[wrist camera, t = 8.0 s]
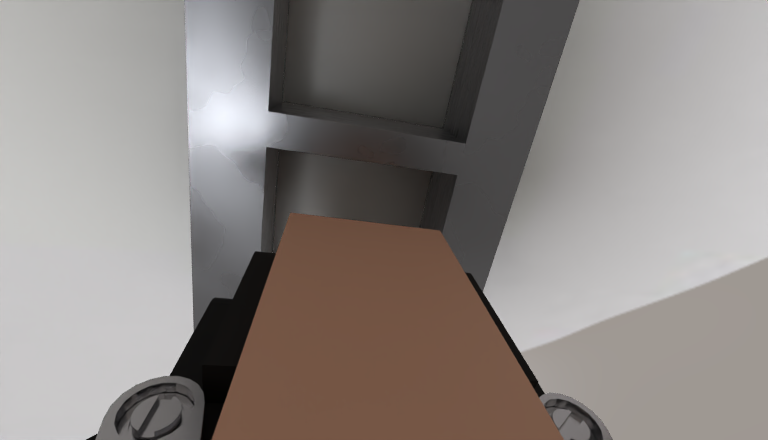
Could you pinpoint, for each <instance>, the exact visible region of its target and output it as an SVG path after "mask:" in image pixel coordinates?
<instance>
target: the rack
mask: <svg viewBox="0 0 768 440" xmlns="http://www.w3.org/2000/svg"><path fill="white" fill-rule="evenodd" d="M184 2H185V37H186V72H187V108H188V143H189V178H190V214H191V249H192V284H193V320H194V331H195V329H196V327H197V325H198V323H199V322H200V320H201V318H202V316H203V314H204V313H205V311H206V309H207V307H208V305H209V304H210V302H211V300H212V299H213V298H215V297H216V298H229V299H233V297H234V295H235V293H236V291H237V289H238V286H239V284H240V282H241V280H242V278H243V276H244V273H245V271H246V269H247V267H248V265H249V263H250V260H251V258H252V256H253V254H254V252H255V251H259V252H269V253H272V249H273V234H274V219H275V205H276V190H277V175H278V160H279V149H283V150H290V151H297V152H304V153H311V154H317V155H324V156H331V157H338V158H345V159H351V160H358V161H365V162H372V163H379V164H385V165H392V166H399V167H406V168H413V169H419V170H426V171H433V172H432V176H431V181H430V185H429V189H428V193H427V198H426V202H425V206H424V211H423V215H422V219H421V223H420V228H423V229H432V230H440V231H441V233H442V235H443V236H444V238H445V240H446V241H447V243H448V245H449V247H450V248H451V250H452V252H453V253H454V255H455V257H456V258H457V260H458V262H459V263H460V265H461V267H462V268H463V270H464V272H466V273H471V274H472V276H473V277H474V279H475V280H476V282H477V284H478V285H479V287H480V289H481V290H482V292H483V289H484V286H485V283H486V280H487V277H488V274H489V271H490V268H491V265H492V262H493V259H494V256H495V253H496V250H497V247H498V244H499V241H500V238H501V235H502V232H503V229H504V226H505V223H506V220H507V217H508V214H509V211H510V208H511V205H512V202H513V199H514V196H515V193H516V190H517V187H518V184H519V181H520V178H521V175H522V172H523V169H524V166H525V163H526V160H527V157H528V154H529V151H530V148H531V145H532V142H533V139H534V136H535V133H536V130H537V127H538V124H539V121H540V118H541V115H542V112H543V109H544V106H545V103H546V100H547V97H548V94H549V91H550V88H551V85H552V82H553V79H554V76H555V73H556V70H557V67H558V64H559V61H560V58H561V55H562V52H563V49H564V46H565V43H566V40H567V37H568V34H569V31H570V28H571V24H572V21H573V18H574V15H575V12H576V9H577V6H578V3H579V0H473V2H472V6H471V10H470V15H469V19H468V23H467V27H466V32H465V36H464V40H463V44H462V49H461V53H460V57H459V61H458V66H457V70H456V74H455V78H454V83H453V87H452V91H451V96H450V100H449V104H448V108H447V113H446V117H445V121H444V125H443V128H437V127H431V126H425V125H419V124H413V123H407V122H401V121H395V120H389V119H383V118H377V117H372V116H366V115H360V114H354V113H348V112H342V111H336V110H330V109H324V108H318V107H312V106H306V105H300V104H295V103H289V102H283V86H284V71H285V56H286V41H287V26H288V11H289V0H184Z"/></svg>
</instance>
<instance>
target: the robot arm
mask: <svg viewBox="0 0 768 440" xmlns="http://www.w3.org/2000/svg"><path fill="white" fill-rule="evenodd" d="M275 255H276V253H269V252H259V251H255V252H254V254H253V256H252V258H251V260H250V263H249V265H248V267H247V269H246V271H245V273H244V276H243V278H242V280H241V282H240V284H239V286H238V289H237V291H236V293H235V295H234V297H233V299H229V298H216V297H215V298H213V299H212V300H211V302H210V304H209V305H208V307H207V309H206V311H205V313H204V314H203V316H202V318H201V320H200V322H199V323H198V325H197V327H196V329H195V331H194V333H193V334H192V336H191V338H190V340H189V342H188V343H187V345H186V347H185V349H184V351H183V352H182V354H181V356H180V358H179V360H178V362H177V363H176V365H175V367H174V369H173V371H172V372H171V374H170V376H163V377H158V378H154V379H150V380H147V381H145V382H142V383H140V384H138V385H135V386H134V387H132V388H131V389H129V390H128V391H126V392H125V393H123V394H122V395H121V396H120V397H119V398H118V399H117V400H116V401H115V402H114V403H113V404H112V405H111V406H110V408H109V409H108V411H107V413H106V415H105V416H104V418H103V421H102V424H101V426H100V429H99V431H98V434H96V435H94V436H92V437H90V438H88V439H86V440H212V437H213V434H214V432H215V429H216V426H217V423H218V420H219V417H220V414H221V411H222V408H223V406H224V403H225V400H226V397H227V394H228V391H229V388H230V385H231V382H232V380H233V377H234V374H235V371H236V368H237V365H238V362H239V359H240V356H241V353H242V351H243V348H244V345H245V342H246V339H247V336H248V333H249V330H250V327H251V325H252V322H253V319H254V316H255V313H256V310H257V307H258V304H259V301H260V299H261V296H262V293H263V290H264V287H265V284H266V281H267V278H268V275H269V273H270V270H271V267H272V264H273V261H274V258H275ZM465 274H466V275H467V277H468V279H469V280H470V282H471V284H472V285H473V287H474V289H475V290H476V292H477V294H478V295H479V297H480V299H481V301H482V302H483V304H484V306H485V307H486V309H487V311H488V312H489V314H490V316H491V317H492V319H493V321H494V322H495V324H496V326H497V328H498V329H499V331H500V333H501V334H502V336H503V338H504V339H505V341H506V343H507V344H508V346H509V348H510V349H511V351H512V353H513V355H514V356H515V358H516V360H517V361H518V363H519V365H520V366H521V368H522V370H523V371H524V373H525V375H526V376H527V378H528V380H529V382H530V383H531V385H532V387H533V388H534V390H535V392H536V393H537V395H538V397H539V398H540V400H541V402H542V403H543V405H544V407H545V409H546V410H547V412H548V414H549V415H550V417H551V419H552V420H553V422H554V424H555V425H556V427H557V429H558V430H559V432H560V434H561V436H562V437H563V439H564V440H613V439H612V437H611V435H610V433H609V431H608V430H607V428H606V427H605V425H604V423H603V422H602V421H601V419H600V418H599V417H598V416H597V415H596V414H595V413H594V412H593V411H592V410H590V409H589V408H588V407H586V406H585V405H584V404H582V403H581V402H579V401H577V400H575V399H573V398H571V397H569V396H566V395H563V394H558V393H547V394H545V393H544V392H543V390H542V389H541V387H540V385H539V384H538V381H537V379H536V378H535V376H534V374H533V372H532V371H531V369H530V368H529V366H528V364H527V363H526V361H525V360H524V358H523V356H522V355H521V353H520V351H519V350H518V348H517V347H516V345H515V343H514V342H513V340H512V339H511V337H510V335H509V334H508V332H507V331H506V329H505V327H504V326H503V324H502V322H501V321H500V319H499V318H498V316H497V314H496V313H495V311H494V310H493V308H492V306H491V305H490V303H489V301H488V300H487V298H486V297H485V295H484V293H483V292H482V290H481V289H480V287H479V285H478V284H477V282H476V280H475V279H474V277H473V276H472V274H471V273H466V272H465Z"/></svg>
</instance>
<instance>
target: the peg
mask: <svg viewBox="0 0 768 440" xmlns="http://www.w3.org/2000/svg"><path fill="white" fill-rule="evenodd" d="M212 440H564V439H563V437H562V436H561V434H560V432H559V430H558V429H557V427H556V425H555V424H554V422H553V420H552V419H551V417H550V415H549V414H548V412H547V410H546V409H545V407H544V405H543V403H542V402H541V400H540V398H539V397H538V395H537V393H536V392H535V390H534V388H533V387H532V385H531V383H530V382H529V380H528V378H527V376H526V375H525V373H524V371H523V370H522V368H521V366H520V365H519V363H518V361H517V360H516V358H515V356H514V355H513V353H512V351H511V349H510V348H509V346H508V344H507V343H506V341H505V339H504V338H503V336H502V334H501V333H500V331H499V329H498V328H497V326H496V324H495V322H494V321H493V319H492V317H491V316H490V314H489V312H488V311H487V309H486V307H485V306H484V304H483V302H482V301H481V299H480V297H479V295H478V294H477V292H476V290H475V289H474V287H473V285H472V284H471V282H470V280H469V279H468V277H467V275H466V274H465V272H464V270H463V268H462V267H461V265H460V263H459V262H458V260H457V258H456V257H455V255H454V253H453V252H452V250H451V248H450V247H449V245H448V243H447V241H446V240H445V238H444V236H443V235H442V233H441V231H440V230H432V229H423V228H415V227H407V226H398V225H390V224H382V223H373V222H365V221H357V220H348V219H340V218H332V217H323V216H315V215H307V214H298V213H290V215H289V218H288V220H287V223H286V226H285V229H284V232H283V235H282V238H281V241H280V244H279V246H278V249H277V252H276V255H275V258H274V261H273V264H272V267H271V270H270V273H269V275H268V278H267V281H266V284H265V287H264V290H263V293H262V296H261V299H260V301H259V304H258V307H257V310H256V313H255V316H254V319H253V322H252V325H251V327H250V330H249V333H248V336H247V339H246V342H245V345H244V348H243V351H242V353H241V356H240V359H239V362H238V365H237V368H236V371H235V374H234V377H233V380H232V382H231V385H230V388H229V391H228V394H227V397H226V400H225V403H224V406H223V408H222V411H221V414H220V417H219V420H218V423H217V426H216V429H215V432H214V434H213V437H212Z"/></svg>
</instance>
